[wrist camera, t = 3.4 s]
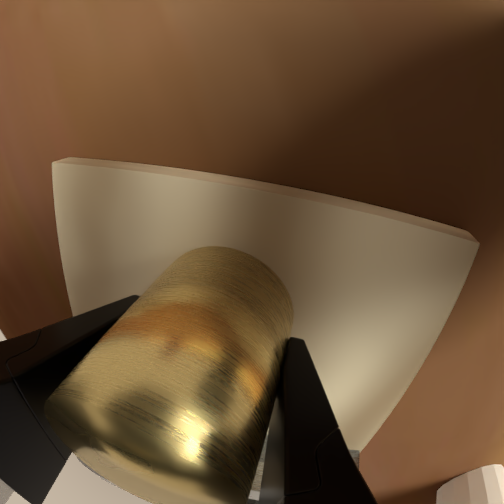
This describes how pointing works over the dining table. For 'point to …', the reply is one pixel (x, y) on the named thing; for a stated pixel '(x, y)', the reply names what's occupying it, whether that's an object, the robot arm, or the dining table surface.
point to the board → (275, 266)
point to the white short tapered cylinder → (474, 487)
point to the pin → (182, 382)
